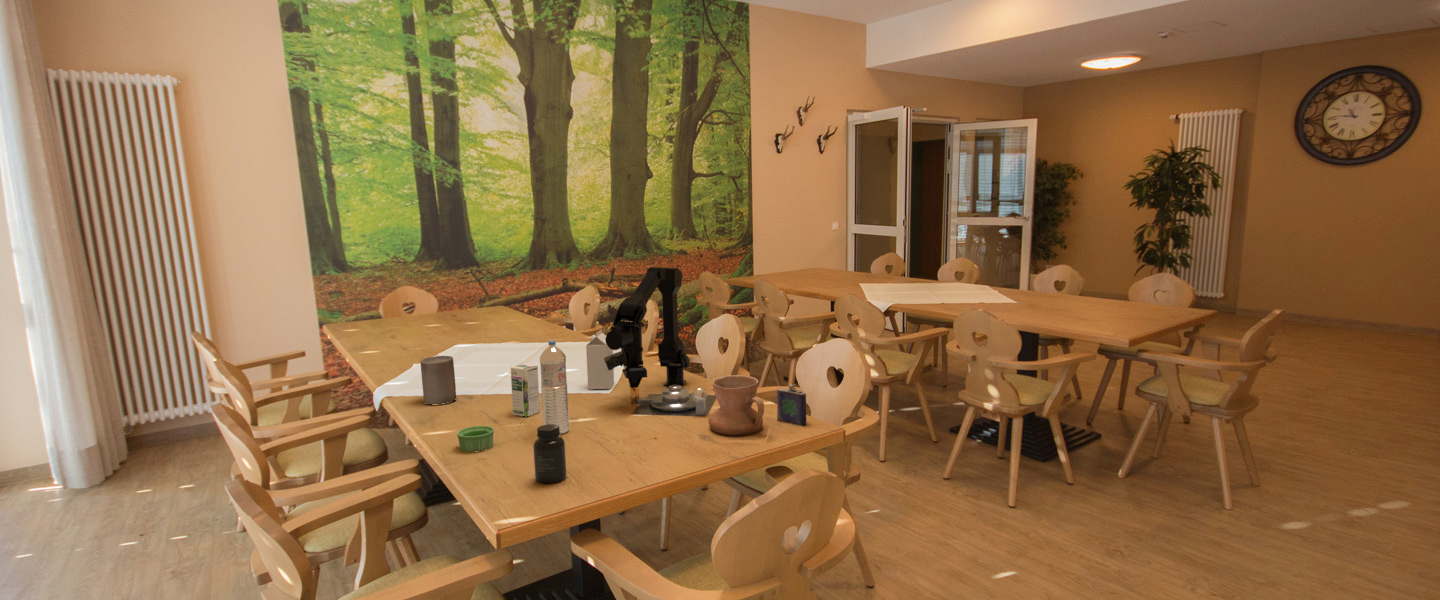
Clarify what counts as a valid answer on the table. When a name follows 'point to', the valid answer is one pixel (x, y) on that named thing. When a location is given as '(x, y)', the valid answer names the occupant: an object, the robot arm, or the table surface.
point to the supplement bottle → (549, 455)
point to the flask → (791, 406)
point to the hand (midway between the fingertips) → (633, 394)
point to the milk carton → (598, 363)
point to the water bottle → (554, 387)
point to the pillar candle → (438, 379)
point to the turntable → (661, 402)
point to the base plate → (647, 410)
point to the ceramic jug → (736, 406)
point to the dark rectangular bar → (700, 400)
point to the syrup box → (525, 389)
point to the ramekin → (475, 438)
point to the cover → (675, 394)
